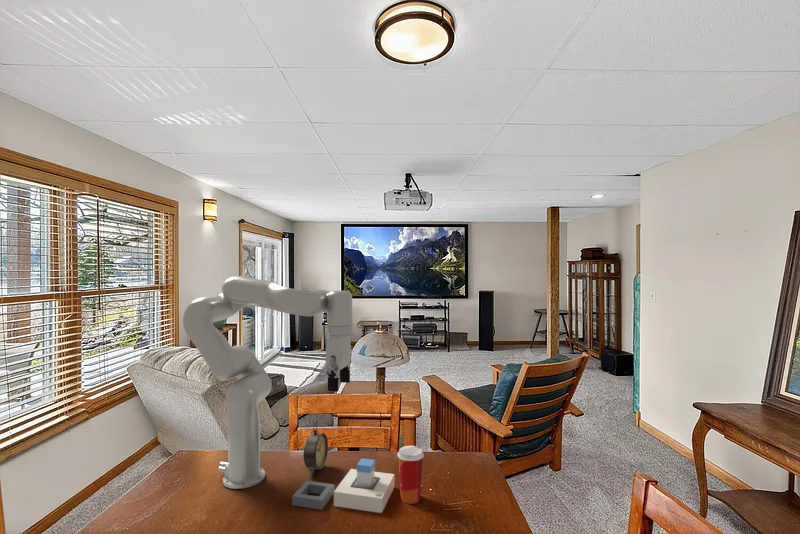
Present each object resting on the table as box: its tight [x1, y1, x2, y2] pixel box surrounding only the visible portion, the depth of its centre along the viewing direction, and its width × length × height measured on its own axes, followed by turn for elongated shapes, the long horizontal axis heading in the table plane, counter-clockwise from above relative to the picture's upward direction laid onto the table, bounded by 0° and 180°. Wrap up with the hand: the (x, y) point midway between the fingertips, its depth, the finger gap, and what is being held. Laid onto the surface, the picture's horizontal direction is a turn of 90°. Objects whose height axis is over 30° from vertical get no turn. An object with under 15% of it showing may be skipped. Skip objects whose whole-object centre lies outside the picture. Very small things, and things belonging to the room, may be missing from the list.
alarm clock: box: [302, 420, 329, 478], centre depth 139 cm, size 11×5×16 cm, turn 168°
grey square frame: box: [291, 480, 335, 511], centre depth 122 cm, size 9×9×2 cm
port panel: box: [333, 468, 395, 514], centre depth 124 cm, size 14×14×4 cm
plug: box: [356, 457, 376, 488], centre depth 124 cm, size 4×4×10 cm
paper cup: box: [396, 445, 425, 505], centre depth 123 cm, size 8×8×14 cm
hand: (339, 386), depth 130 cm, fingers open, 9 cm apart
